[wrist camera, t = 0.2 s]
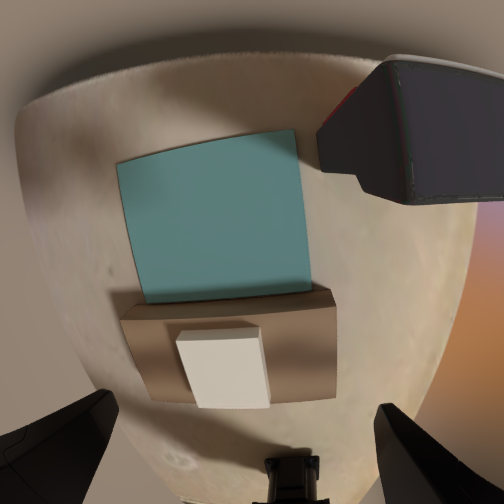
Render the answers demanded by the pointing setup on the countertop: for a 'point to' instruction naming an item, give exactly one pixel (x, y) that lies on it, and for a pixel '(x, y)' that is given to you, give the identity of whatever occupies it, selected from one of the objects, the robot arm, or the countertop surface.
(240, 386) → the tile
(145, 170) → the mat
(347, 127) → the calculator
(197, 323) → the wooden board
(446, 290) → the countertop surface
